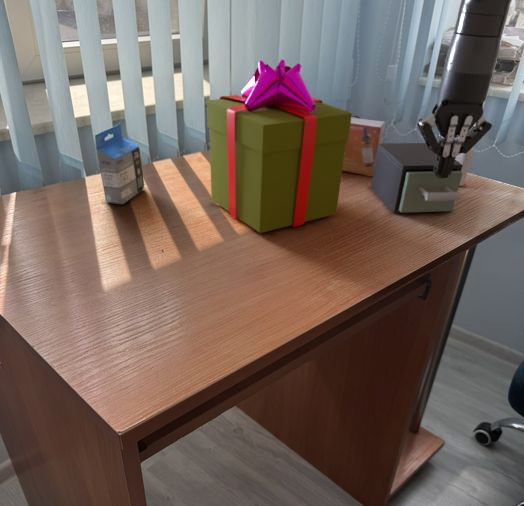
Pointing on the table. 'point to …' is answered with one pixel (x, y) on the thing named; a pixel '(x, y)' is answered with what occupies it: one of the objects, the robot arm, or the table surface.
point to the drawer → (429, 191)
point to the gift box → (276, 151)
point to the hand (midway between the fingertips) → (441, 176)
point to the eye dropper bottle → (464, 164)
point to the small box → (362, 145)
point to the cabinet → (400, 169)
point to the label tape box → (119, 166)
